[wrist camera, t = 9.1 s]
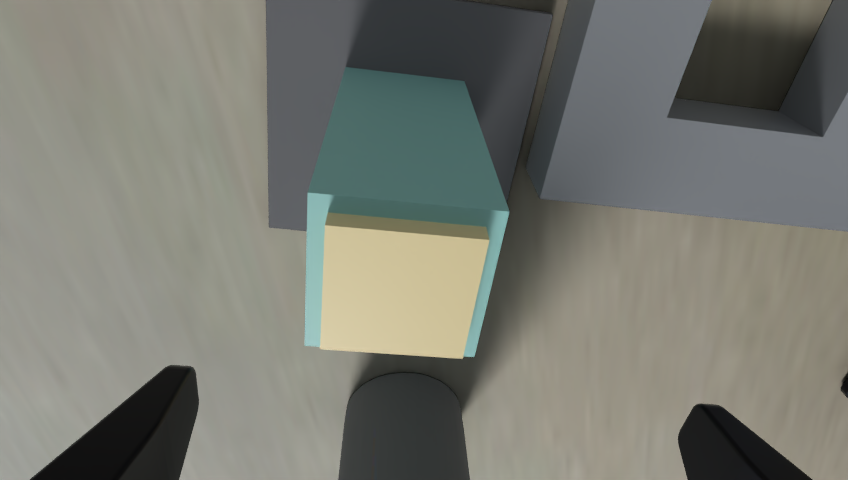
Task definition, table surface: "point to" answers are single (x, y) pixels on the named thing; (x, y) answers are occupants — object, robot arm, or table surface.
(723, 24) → the table surface
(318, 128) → the pad
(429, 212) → the plug
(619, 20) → the grey square socket block
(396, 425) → the bottle
